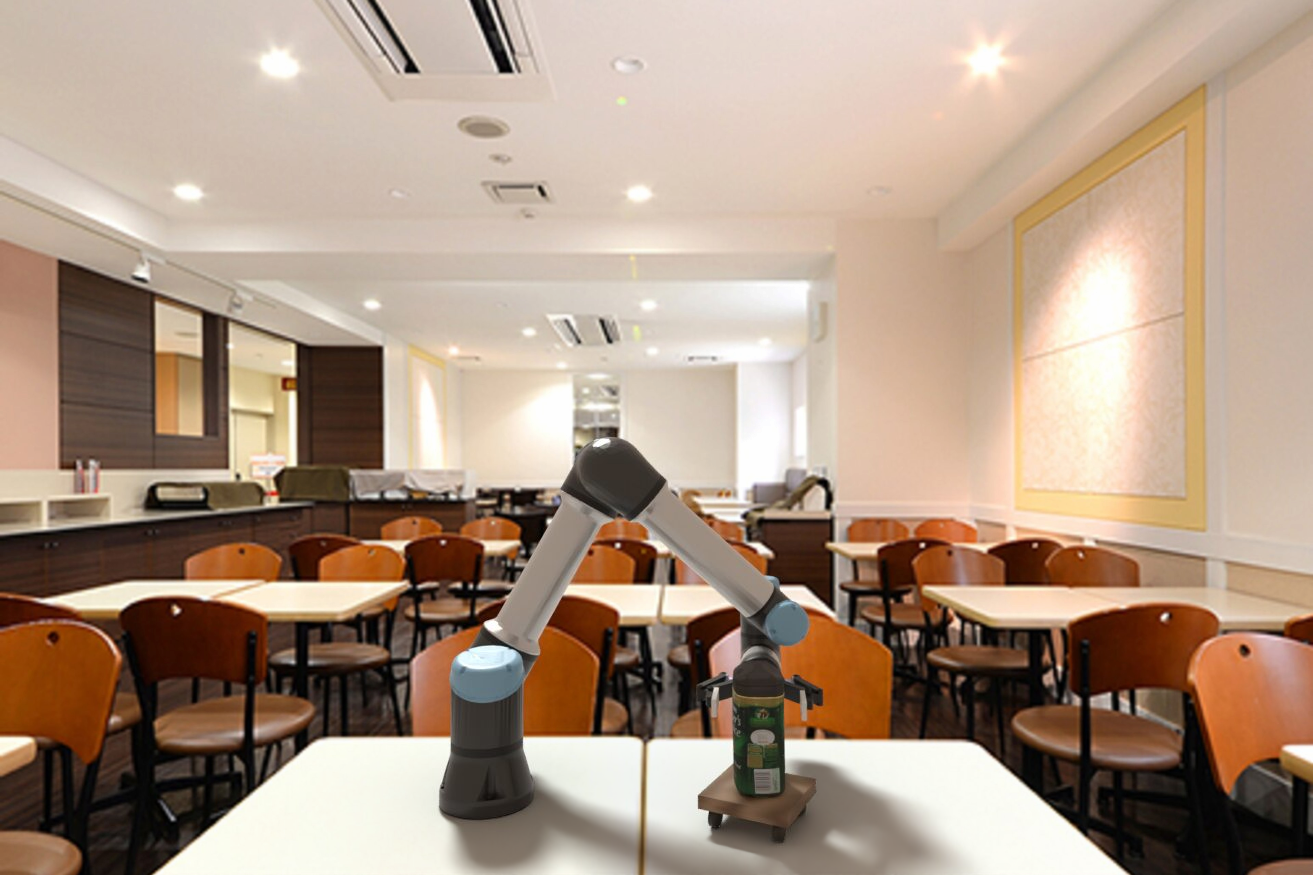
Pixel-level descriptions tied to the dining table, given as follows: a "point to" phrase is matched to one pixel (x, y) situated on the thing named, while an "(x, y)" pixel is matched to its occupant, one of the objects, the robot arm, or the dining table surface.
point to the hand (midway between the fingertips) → (758, 710)
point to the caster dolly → (757, 802)
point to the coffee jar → (758, 729)
